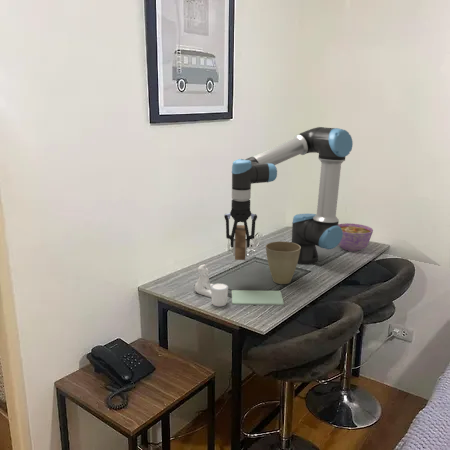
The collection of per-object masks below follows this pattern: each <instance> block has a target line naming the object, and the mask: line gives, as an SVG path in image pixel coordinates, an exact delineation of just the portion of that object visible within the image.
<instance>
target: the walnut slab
mask: <svg viewBox="0 0 450 450" xmlns="http://www.w3.org/2000/svg"><path fill="white" fill-rule="evenodd" d="M234 239H235V256H234V260H235V261H245V260H246V256H245V244H246V239H247V237H246V229H245V226H244V224H237V227H236V231H235V236H234Z"/></svg>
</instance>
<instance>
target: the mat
mask: <svg viewBox="0 0 450 450" xmlns="http://www.w3.org/2000/svg"><path fill="white" fill-rule="evenodd" d="M284 302H285V301H284V299H283V295H282V292H281V290H243V289H242V290H239V289H236V290H235V289H234V290H233V289H232V290H231V304H232V305H245V306H246V305H247V306H248V305H251V306H252V305H254V306H255V305H259V306H262V305H265V306H266V305H267V306H268V305H269V306H271V305H272V306H278V305H279V306H284V305H285V303H284Z"/></svg>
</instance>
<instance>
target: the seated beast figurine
mask: <svg viewBox="0 0 450 450" xmlns="http://www.w3.org/2000/svg"><path fill="white" fill-rule="evenodd" d="M197 271H198V273H199V276H198V280H197V281H196V282H195V284H194V290H195V292H196V293H197V294H199V295H201V296H205V297H207V298H212V297H211V285H213V284H214V283H211V282H210V279H209V275H210V272H209V268H207V265H206V264H201V265H199V266H198V268H197Z"/></svg>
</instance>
